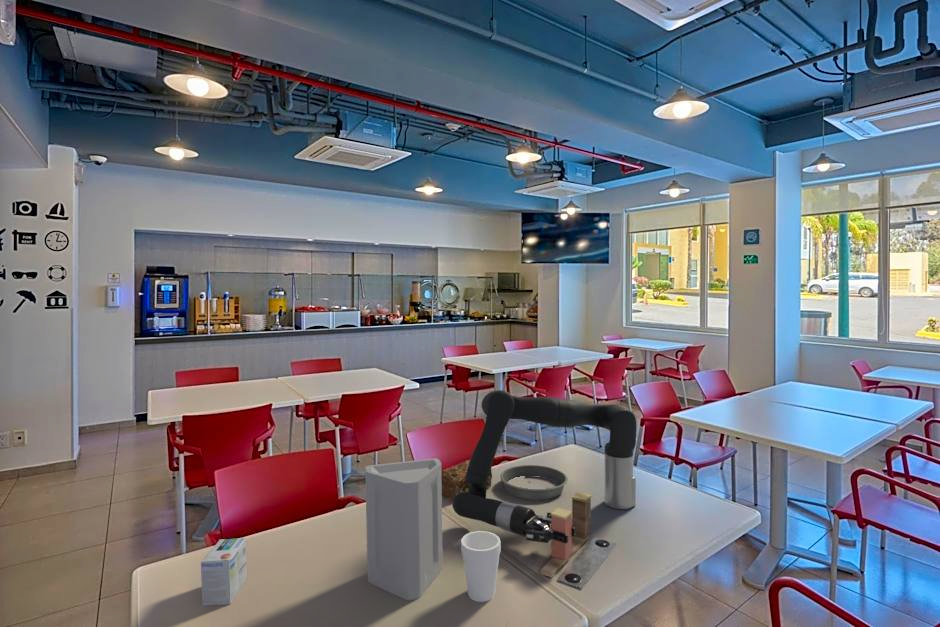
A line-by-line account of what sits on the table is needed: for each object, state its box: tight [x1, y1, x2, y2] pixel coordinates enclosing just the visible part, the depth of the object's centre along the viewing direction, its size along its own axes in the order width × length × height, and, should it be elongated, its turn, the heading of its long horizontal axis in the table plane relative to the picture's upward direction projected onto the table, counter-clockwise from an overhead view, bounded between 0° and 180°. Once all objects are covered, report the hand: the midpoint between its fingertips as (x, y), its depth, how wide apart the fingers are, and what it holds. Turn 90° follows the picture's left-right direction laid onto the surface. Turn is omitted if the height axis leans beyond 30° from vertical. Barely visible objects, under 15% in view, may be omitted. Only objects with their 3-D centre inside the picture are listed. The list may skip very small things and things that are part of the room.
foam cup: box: [460, 530, 502, 603], centre depth 117 cm, size 10×9×13 cm
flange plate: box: [556, 537, 617, 589], centre depth 131 cm, size 25×6×1 cm, turn 145°
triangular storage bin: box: [364, 457, 444, 601], centre depth 122 cm, size 19×15×28 cm
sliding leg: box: [550, 507, 573, 560], centre depth 131 cm, size 4×4×12 cm
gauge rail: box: [540, 491, 592, 579], centre depth 134 cm, size 25×4×13 cm, turn 145°
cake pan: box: [499, 464, 569, 501], centre depth 180 cm, size 25×25×4 cm
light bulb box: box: [200, 537, 248, 607], centre depth 119 cm, size 11×7×11 cm, turn 5°
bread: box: [441, 459, 493, 501], centre depth 177 cm, size 19×11×10 cm, turn 134°
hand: (571, 535), depth 130 cm, fingers closed on sliding leg, 4 cm apart
